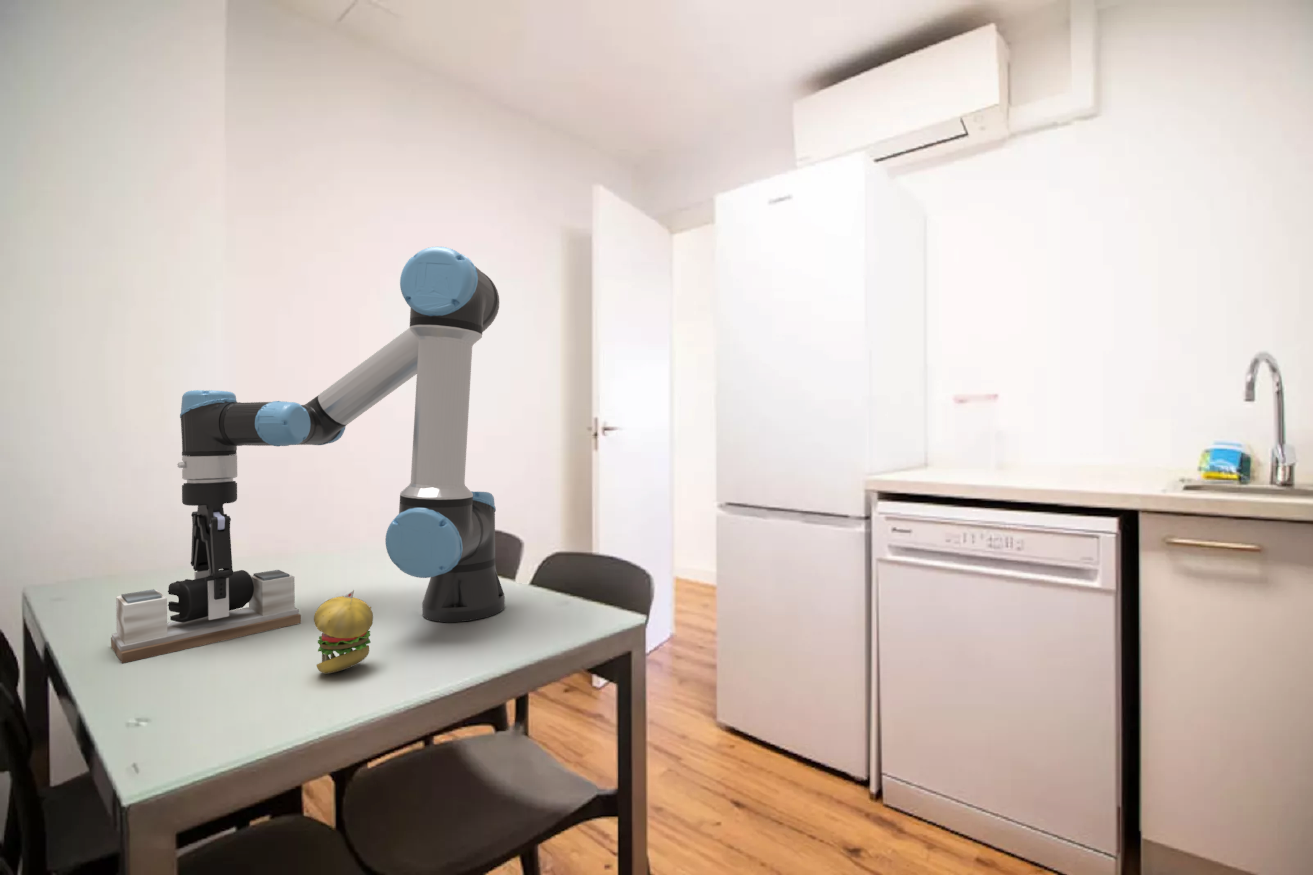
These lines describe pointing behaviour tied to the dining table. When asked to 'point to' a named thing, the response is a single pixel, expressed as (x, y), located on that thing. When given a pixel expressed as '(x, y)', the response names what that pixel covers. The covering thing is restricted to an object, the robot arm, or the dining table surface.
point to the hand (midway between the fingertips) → (211, 612)
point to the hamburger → (343, 632)
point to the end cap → (196, 596)
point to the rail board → (152, 635)
